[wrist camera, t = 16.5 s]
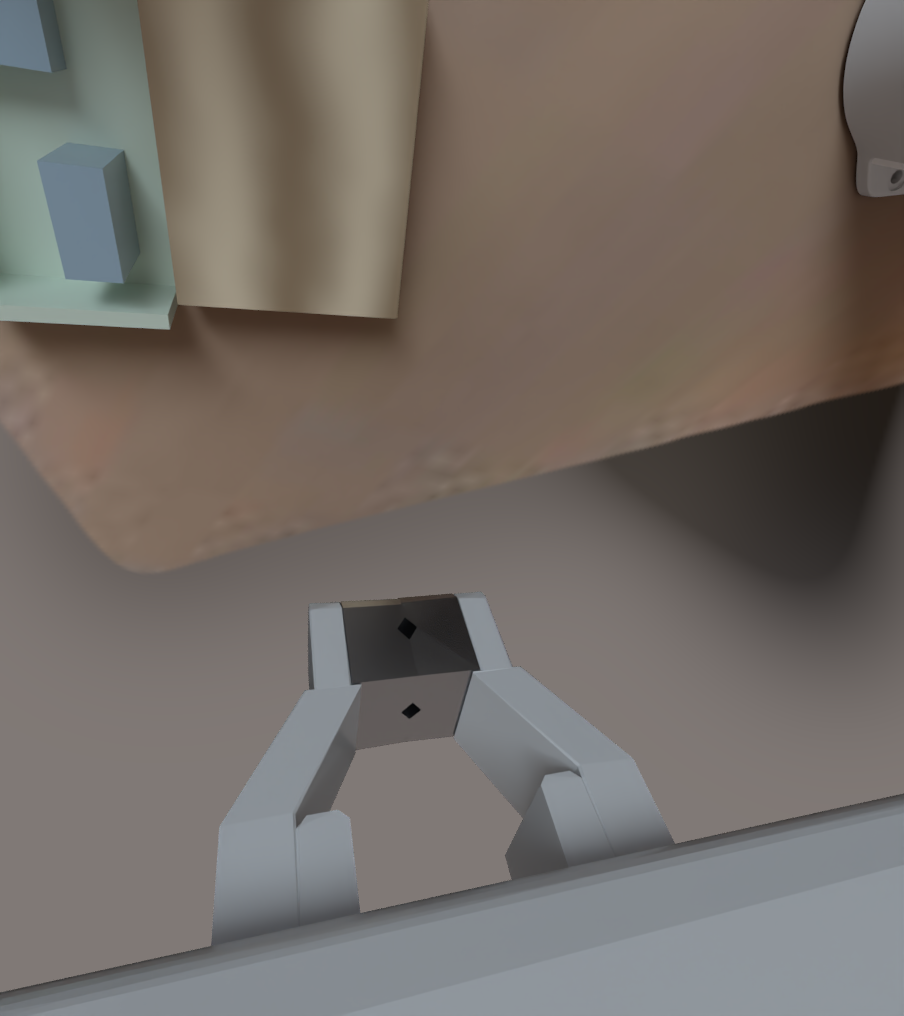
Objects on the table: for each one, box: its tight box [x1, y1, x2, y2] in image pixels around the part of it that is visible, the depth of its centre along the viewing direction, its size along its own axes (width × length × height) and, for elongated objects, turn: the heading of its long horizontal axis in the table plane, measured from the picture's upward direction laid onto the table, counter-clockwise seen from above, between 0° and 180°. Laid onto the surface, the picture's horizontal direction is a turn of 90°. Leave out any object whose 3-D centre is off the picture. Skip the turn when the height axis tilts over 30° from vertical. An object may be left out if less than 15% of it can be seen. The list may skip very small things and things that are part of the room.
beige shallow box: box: [137, 0, 429, 319], centre depth 30 cm, size 12×16×4 cm
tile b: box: [37, 142, 140, 284], centre depth 29 cm, size 5×5×2 cm
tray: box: [0, 0, 178, 330], centre depth 26 cm, size 10×18×5 cm, turn 171°
